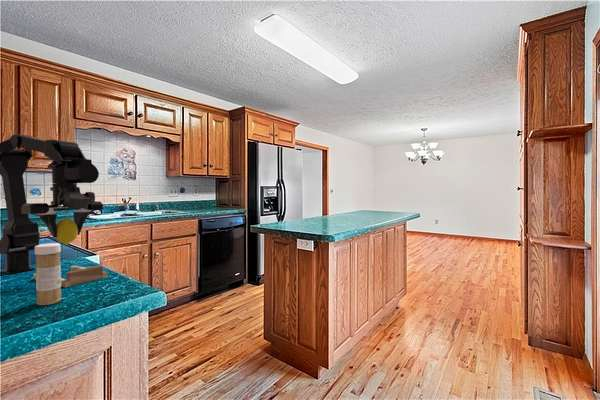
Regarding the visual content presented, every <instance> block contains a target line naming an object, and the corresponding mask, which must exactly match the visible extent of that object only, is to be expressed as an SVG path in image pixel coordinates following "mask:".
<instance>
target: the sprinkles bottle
mask: <svg viewBox="0 0 600 400" xmlns="http://www.w3.org/2000/svg"><path fill="white" fill-rule="evenodd" d="M61 252H62V251H61V244H60V242H58V243H56V242H54V243H53V242H51V243H42V244H38V245H37V246H35V250H34V254H35V271H36V272H35V274H36V280H35V283H36V285H35V288H36V305H38V306H47V305H48V306H49V305H53V304H57V303H59V302H61V301H62V289H61V288H62V286H61V278H62V270H61V268H62V267H61V256H60V255H61Z"/></svg>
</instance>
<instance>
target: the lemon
mask: <svg viewBox="0 0 600 400" xmlns="http://www.w3.org/2000/svg"><path fill="white" fill-rule="evenodd" d="M56 229H57V237H56V238H55V239H56V240H57V241H58V243H62V244H64V245H66V246H67V245H70V243H71V242H74V241H75V240H76V239H77V237H78V236H79V235H78V228H77V225H76V223H75V222H74V220H72V219H69V218H68V217H64V218H63V219H62V220H60V221H57V222H56Z"/></svg>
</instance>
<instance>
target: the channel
mask: <svg viewBox="0 0 600 400" xmlns="http://www.w3.org/2000/svg"><path fill="white" fill-rule="evenodd" d="M103 267H104V266H103V265H94V266H90V267H83V266H79V265H71V266H70V271H68V272H66V279H65V278H62V277H61V288H62V287H63V288H68V287H69V288H70V287H72V286H77V285H81V284H85V283H88V282H89V283H90V282H93V281H96V280H101V279H104V278H108V271H104V269H103ZM33 280H35V281H36V273H33Z"/></svg>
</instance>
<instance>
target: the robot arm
mask: <svg viewBox="0 0 600 400" xmlns="http://www.w3.org/2000/svg"><path fill="white" fill-rule="evenodd" d="M79 146H80V145H79V144H78V143H77V142H73V141H65V140H59V139H43V138H42V139H41V138H38V137H34V136H31V135H28V134H26V135H25V134H20V133H15V134H12V135H11V136H10V137H9V138H8V139H6V140H3V141H1V142H0V176H1V178H2V179H1V180H2V187H3V194H4V200H5V207H6V214H7V223H6V224H5V225H4V227H3V229H2V237H1V238H0V255H5V268H4V269H1V270H0V271H1V272H2V273H6V274H10V275H11V274H16V273H22V272H26V271H31V270H32V271H33V270H36V266H32V265H31V251H35V246H37V245H40V244H39V243H40V238H41V235H40V231H39V224H38V223H37V222H33V221H32V220H31V219H30V218H29V217H30V216H29V215H34V216H35V217H39V218H40V219H41V221H42V222H43V223H44V225H45V226H46V228H47V230H48V231H49V233H50V234H51V237H52V238H54V239H56V237H57V229H56V224H57V221H56V220H57V218H58V217H57V216H58V213H55V211H57V212H58V211H59V212H60V211H72V210H73V221H74V222H75V223H76V225H77V228H78V235H77V236H79V235H80V234H81V232H82V229H83V227H84V224H85V222H86V219H87V218H88V217H89V215H91V214H94V211H95V212H96V211H104V203H102V201H100V200H99V201H97V200H96V193H95V192H93V191H85V193H83V192H81V188H80V186H78V184H91V183H92V184H93V183H95V182H96V181H97V180H98V179H99V176H100V175H99V174H100V172H99V170H98V168H97V166H96V165H95V164H93V162H92V159H88V158H86V156H85V154H84V153H83V152H82V149H81V148H80V147H79ZM19 148H22V149H19ZM23 149H24V150H23ZM33 151H34V152H38V153H41V154H43V156H44V157H46V158H48V159H50V160H52V162H50V163H48V165H47V169H51V178H52V179H51V181H52V184H51V185H52V187H51V186H49V189H50V191H51V192H52V201H50V204H48V203H47V202H34V203H33V202H32V203H28V202H27V195H26V189H25V182H24V174H25V172H26V171H27V169H28V167H29V161H30V160H31V159H32V158H33V156H34V154H33Z"/></svg>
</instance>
